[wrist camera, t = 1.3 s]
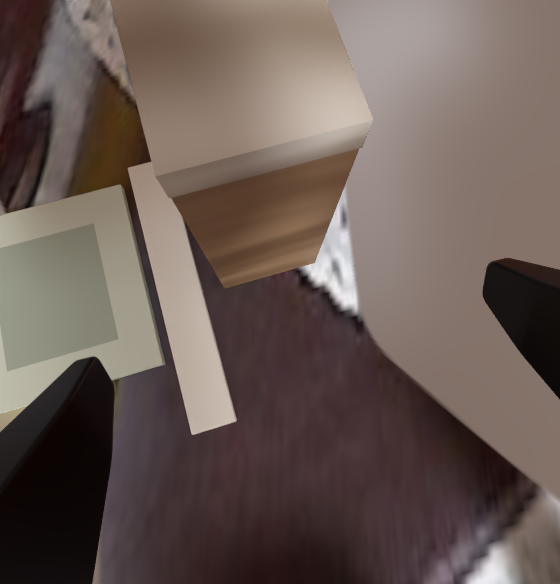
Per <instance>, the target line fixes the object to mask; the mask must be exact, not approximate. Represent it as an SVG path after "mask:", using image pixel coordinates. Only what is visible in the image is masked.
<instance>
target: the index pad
mask: <svg viewBox="0 0 560 584" xmlns="http://www.w3.org/2000/svg"><path fill="white" fill-rule="evenodd" d="M91 356H95V357H97V358H98V359H99V360H100V361H101V363H102V364H103V366H104V368H105V369H106V371H107V373H108V375H109V376H110V378H111V380H115V379H118V378H122V377H125V376H129V375H132V374H135V373H139V372H142V371H145V370H149V369H152V368H155V367H159V366H162V365H165V364H166V363H165V359H164V355H163V350H162V346H161V342H160V338H159V333H158V329H157V325H156V321H155V317H154V312H153V308H152V304H151V300H150V295H149V291H148V287H147V283H146V278H145V274H144V270H143V266H142V262H141V257H140V253H139V249H138V245H137V240H136V236H135V232H134V228H133V223H132V219H131V215H130V211H129V206H128V202H127V198H126V194H125V190H124V188H123V187H122V185H121V184H119V185H116V186H112V187H108V188H104V189H100V190H96V191H92V192H89V193H85V194H81V195H77V196H73V197H69V198H65V199H62V200H58V201H54V202H50V203H46V204H42V205H38V206H35V207H31V208H27V209H23V210H19V211H15V212H11V213H8V214H4V215H0V414H1V413H5V412H8V411H11V410H15V409H18V408H21V407H25V406H28V405H29V404H30V403H31V402H32V401H34V400H35V399H36V398H37V397H38V396H39V395H40V394H41V393H42V392H43V391H44V390H45V389H46V388H47V387H48V386H49V385H50V384H51V383H52V382H53V381H54V380H56V379H57V378H58V377H59V376H60V375H61V374H62V373H63V372H64V371H65V370H66V369H67V368H68V367H69V366H70V365H71V364H72V363H73V362H75V361H76V360H79V359H83V358H87V357H91Z"/></svg>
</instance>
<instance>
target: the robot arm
mask: <svg viewBox="0 0 560 584" xmlns="http://www.w3.org/2000/svg"><path fill="white" fill-rule="evenodd" d="M483 297H484V300H485V302H486V304H487V305H488V306H489V308H490V309H491V311H492V312H493V314H494V315H495V317H496V318H497V320H498V321H499V323H500V324H501V326H502V327H503V328H504V330H505V331H506V333H507V334H508V336H509V337H510V339H511V340H512V342H513V343H514V344H515V346H516V347H517V349H518V350H519V351H520V353H521V354H522V355H523V356H524V358H525V359H526V360H527V361H528V363H529V364H530V365H531V366H532V367H533V368H534V370H535V371H536V372H537V373H538V374H539V375H540V377H541V378H542V379H543V380H544V381H545V383H546V384H547V385H548V386H549V387H550V388H551V390H552V391H553V392H554V393H555V394H556V396H558V398H559V399H560V270H558V269H554V268H550V267H546V266H541V265H537V264H533V263H528V262H524V261H520V260H515V259H511V258H504V259H499V260H496V261H492V262H490V263H489V264H488V266H487V268H486V274H485V280H484V285H483ZM114 398H115V389H114V384H113V382H112V380H111V378H110V376H109V375H108V373H107V371H106V369H105V368H104V366H103V364H102V363H101V361H100V360H99V359H98V358H97V357H95V356H91V357H87V358H83V359H79V360H76V361H75V362H73V363H72V364H71V365H70V366H69V367H68V368H67V369H66V370H65V371H64V372H63V373H62V374H61V375H60V376H59V377H58V378H57V379H56V380H54V381H53V382H52V383H51V384H50V385H49V386H48V387H47V388H46V389H45V390H44V391H43V392H42V393H41V394H40V395H39V396H38V397H37V398H36V399H35V400H34V401H32V402H31V403H30V404H29V405H28V406H27V407H26V408H25V409H24V410H23V411H22V412H21V413H20V414H19V415H18V416H17V417H16V418H15V419H14V420H13V421H12V422H11V423H9V424H8V425H7V426H6V427H5V428H4V429H3V430H2V431H1V432H0V584H92V582H93V575H94V569H95V563H96V556H97V550H98V543H99V537H100V531H101V524H102V518H103V512H104V505H105V499H106V493H107V486H108V480H109V474H110V467H111V460H112V448H113V424H114Z"/></svg>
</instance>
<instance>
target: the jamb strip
mask: <svg viewBox="0 0 560 584" xmlns="http://www.w3.org/2000/svg"><path fill="white" fill-rule="evenodd" d="M128 172H129V176H130V180H131V184H132V189H133V193H134V197H135V201H136V205H137V209H138V213H139V218H140V222H141V226H142V230H143V234H144V238H145V243H146V247H147V251H148V255H149V259H150V263H151V267H152V272H153V276H154V280H155V284H156V288H157V292H158V297H159V301H160V305H161V309H162V313H163V317H164V321H165V326H166V330H167V334H168V338H169V342H170V346H171V350H172V355H173V359H174V363H175V367H176V371H177V375H178V380H179V384H180V388H181V392H182V396H183V400H184V404H185V409H186V413H187V417H188V421H189V425H190V429H191V434H192V435H194V434H198V433H201V432H204V431H207V430H210V429H213V428H217V427H220V426H223V425H226V424H229V423H232V422H236V421H237V418H236V414H235V411H234V407H233V403H232V399H231V396H230V392H229V388H228V384H227V381H226V377H225V373H224V369H223V365H222V362H221V358H220V354H219V350H218V347H217V343H216V339H215V335H214V331H213V328H212V324H211V320H210V316H209V313H208V309H207V305H206V301H205V298H204V294H203V290H202V286H201V282H200V279H199V275H198V271H197V267H196V264H195V260H194V256H193V252H192V249H191V245H190V241H189V237H188V233H187V230H186V226H185V222H184V219H183V217H182V216H181V214H180V212H179V211H178V209H177V207H176V206H175V204H174V202H173V200H172V199H171V198H168V197H167V195H166V193H165V192H164V190H163V188H162V187H161V185H160V183H159V182H158V180H157V178H156V177H155V173H154V169H153V165H152V162H148V163H144V164H141V165H137V166H133V167H129V168H128Z"/></svg>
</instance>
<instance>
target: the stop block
mask: <svg viewBox="0 0 560 584" xmlns="http://www.w3.org/2000/svg"><path fill="white" fill-rule="evenodd" d="M110 1H111V5H112V9H113V13H114V17H115V21H116V25H117V28H118V32H119V36H120V40H121V44H122V48H123V52H124V56H125V60H126V64H127V68H128V72H129V75H130V79H131V83H132V87H133V91H134V95H135V99H136V103H137V107H138V111H139V115H140V118H141V122H142V126H143V130H144V134H145V138H146V142H147V146H148V150H149V154H150V158H151V162H152V165H153V169H154V173H155V177H156V178H157V180H158V182H159V183H160V185H161V187H162V188H163V190H164V192H165V193H166V195H167V197H168V198H171V199H172V200H173V202H174V204H175V206H176V207H177V209H178V211H179V212H180V214H181V216H182V217H183V219H184V221H185V222H186V224H187V226H188V227H189V229H190V231H191V233H192V234H193V236H194V238H195V239H196V241H197V243H198V244H199V246H200V248H201V249H202V251H203V253H204V255H205V256H206V258H207V260H208V261H209V263H210V265H211V266H212V268H213V270H214V271H215V273H216V275H217V276H218V278H219V280H220V282H221V283H222V285H223V287H224V288H228V287H232V286H235V285H239V284H242V283H246V282H249V281H253V280H256V279H260V278H263V277H267V276H270V275H274V274H277V273H281V272H284V271H288V270H291V269H295V268H298V267H302V266H305V265H309V264H312V263H315V260H316V258H317V255H318V253H319V250H320V248H321V245H322V242H323V240H324V237H325V235H326V232H327V230H328V227H329V224H330V222H331V219H332V217H333V214H334V212H335V209H336V207H337V204H338V201H339V199H340V196H341V194H342V191H343V189H344V186H345V184H346V181H347V178H348V176H349V173H350V171H351V168H352V166H353V163H354V160H355V158H356V155H357V153H358V150H359V148H362V147H363V144H364V142H365V139H366V137H367V134H368V132H369V129H370V127H371V124H372V122H373V118H372V116H371V113H370V110H369V108H368V105H367V102H366V100H365V97H364V95H363V92H362V90H361V87H360V85H359V82H358V80H357V78H356V75H355V72H354V69H353V67H352V64H351V62H350V59H349V57H348V54H347V51H346V49H345V46H344V44H343V41H342V39H341V36H340V34H339V31H338V29H337V26H336V24H335V21H334V18H333V16H332V13H331V11H330V8H329V5H328V3H327V0H110Z"/></svg>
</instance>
